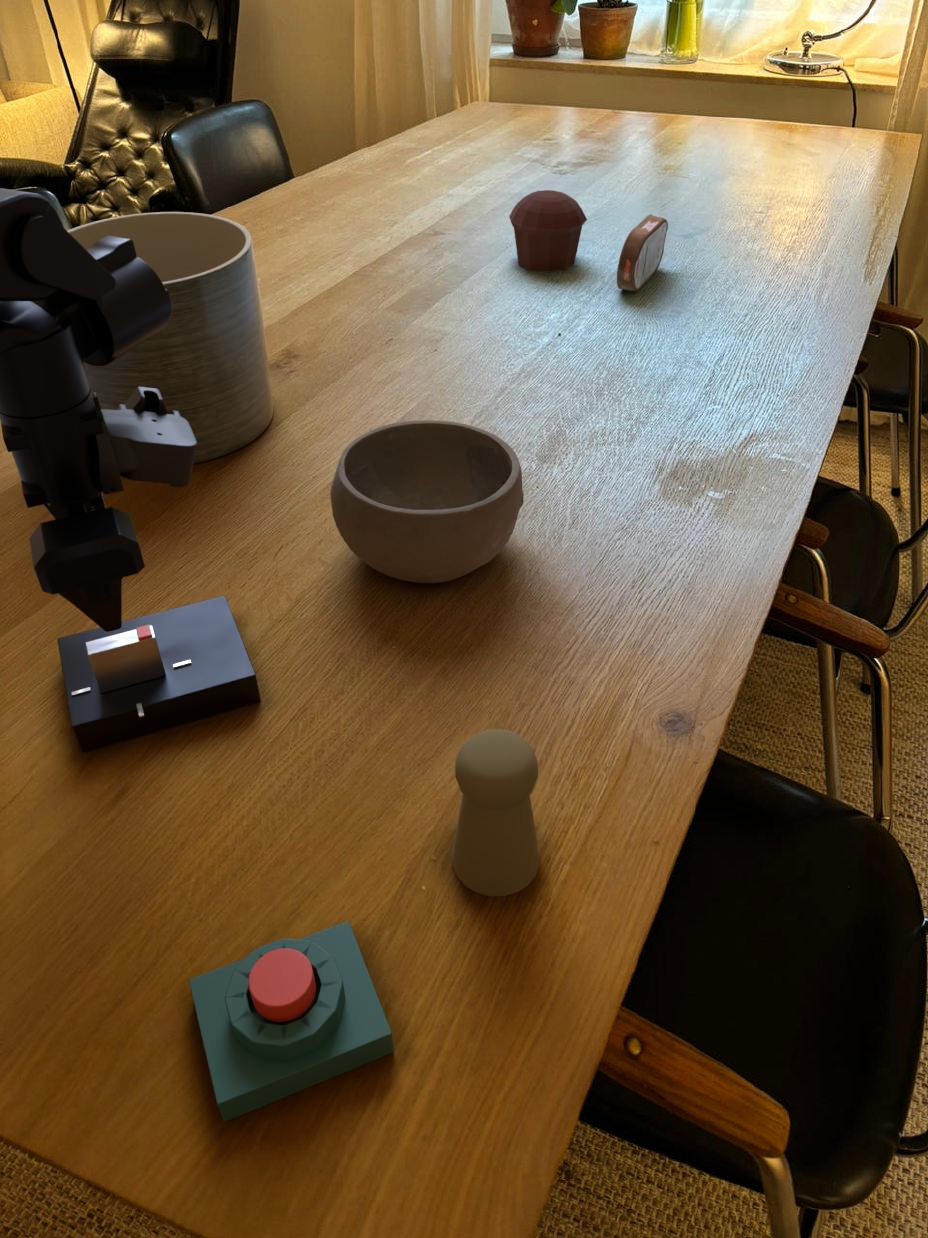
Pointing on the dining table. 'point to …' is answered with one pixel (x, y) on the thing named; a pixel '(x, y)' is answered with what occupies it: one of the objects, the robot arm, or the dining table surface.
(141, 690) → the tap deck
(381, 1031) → the button block
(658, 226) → the tin
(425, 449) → the bowl
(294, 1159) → the dining table surface
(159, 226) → the planter
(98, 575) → the robot arm
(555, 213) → the muffin
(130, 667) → the grey rectangular block
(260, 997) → the button
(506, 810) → the brown pawn
